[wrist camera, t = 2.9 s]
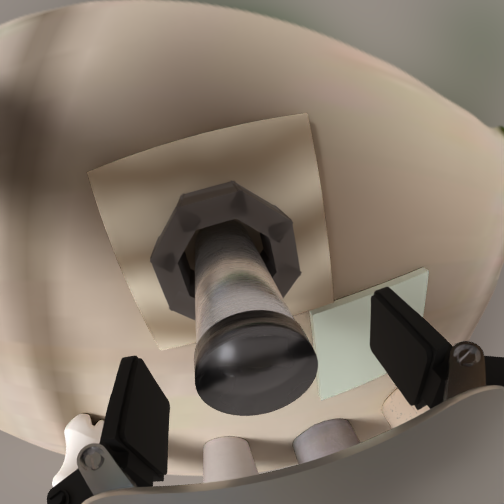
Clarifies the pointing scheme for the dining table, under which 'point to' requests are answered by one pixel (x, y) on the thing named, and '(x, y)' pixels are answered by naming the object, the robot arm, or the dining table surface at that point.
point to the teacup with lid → (400, 409)
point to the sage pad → (356, 334)
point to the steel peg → (244, 329)
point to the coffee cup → (227, 459)
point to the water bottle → (77, 442)
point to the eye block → (216, 216)
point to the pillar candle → (324, 440)
